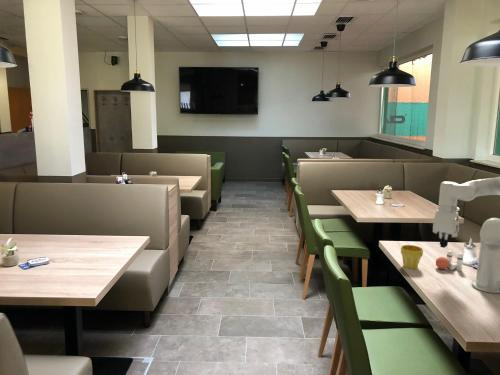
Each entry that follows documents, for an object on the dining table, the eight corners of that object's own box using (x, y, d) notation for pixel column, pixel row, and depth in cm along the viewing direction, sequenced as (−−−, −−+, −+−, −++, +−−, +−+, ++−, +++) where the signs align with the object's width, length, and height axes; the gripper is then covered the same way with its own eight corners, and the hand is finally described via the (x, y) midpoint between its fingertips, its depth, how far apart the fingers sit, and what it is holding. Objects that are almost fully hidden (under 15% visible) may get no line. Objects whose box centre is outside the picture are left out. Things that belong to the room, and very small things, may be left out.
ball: (446, 255, 204) (447, 256, 199) (450, 267, 203) (450, 268, 198) (434, 257, 206) (434, 258, 201) (437, 269, 205) (437, 270, 200)
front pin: (454, 270, 200) (460, 266, 206) (453, 265, 200) (460, 261, 205) (448, 269, 202) (455, 265, 207) (448, 265, 202) (455, 260, 207)
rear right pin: (462, 270, 201) (464, 253, 200) (460, 271, 199) (462, 254, 198) (457, 268, 203) (458, 252, 201) (455, 270, 201) (457, 253, 200)
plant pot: (423, 271, 199) (425, 252, 198) (401, 269, 201) (402, 250, 200) (419, 263, 209) (420, 245, 208) (398, 262, 211) (399, 244, 210)
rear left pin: (451, 267, 205) (453, 251, 203) (449, 268, 203) (451, 252, 201) (446, 265, 206) (448, 250, 205) (444, 267, 205) (446, 251, 203)
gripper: (467, 210, 183) (463, 249, 186) (434, 204, 194) (430, 241, 197) (461, 212, 178) (457, 252, 181) (427, 206, 189) (424, 244, 192)
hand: (443, 246), depth 189 cm, fingers closed
